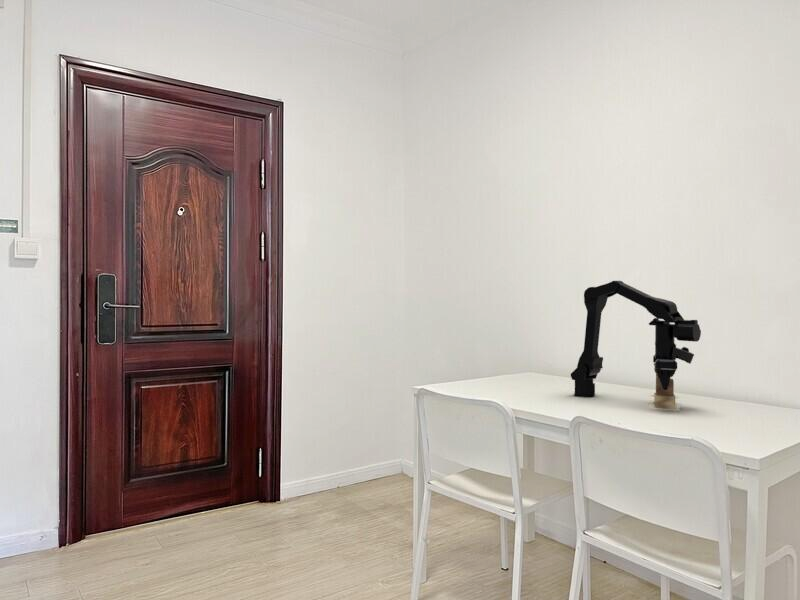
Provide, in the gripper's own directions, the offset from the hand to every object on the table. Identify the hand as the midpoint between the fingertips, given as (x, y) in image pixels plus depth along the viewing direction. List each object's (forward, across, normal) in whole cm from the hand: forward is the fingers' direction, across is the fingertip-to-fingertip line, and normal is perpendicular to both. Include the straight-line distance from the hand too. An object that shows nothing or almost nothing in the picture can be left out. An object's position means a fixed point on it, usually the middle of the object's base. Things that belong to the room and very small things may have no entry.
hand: (664, 387), depth 197 cm
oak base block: (+6, 0, 0) cm, 6 cm away
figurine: (+7, +21, -1) cm, 22 cm away
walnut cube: (+2, 0, 0) cm, 2 cm away
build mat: (+7, +1, +5) cm, 8 cm away
